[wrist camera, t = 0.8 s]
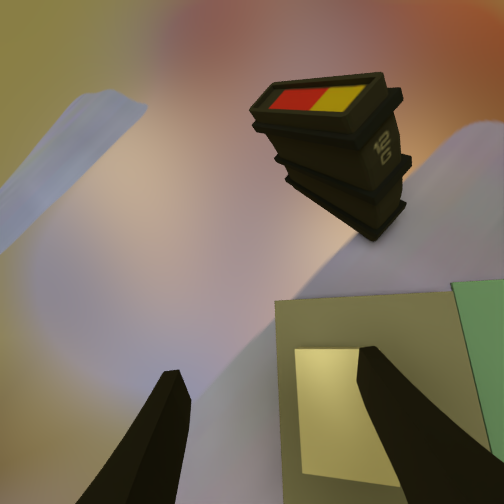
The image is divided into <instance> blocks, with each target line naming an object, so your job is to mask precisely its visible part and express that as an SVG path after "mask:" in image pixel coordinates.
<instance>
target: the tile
mask: <svg viewBox="0 0 504 504" xmlns="http://www.w3.org/2000/svg"><path fill="white" fill-rule="evenodd" d="M359 348H360V347H298V348H296V349H295V364H296V380H297V396H298V412H299V428H300V444H301V460H302V473H304V474H311V475H318V476H325V477H332V478H339V479H346V480H353V481H360V482H367V483H374V484H381V485H389V486H396V487H400V483H399V480H398V478H397V475H396V473H395V471H394V469H393V467H392V465H391V462H390V460H389V458H388V456H387V454H386V452H385V449H384V447H383V445H382V443H381V441H380V439H379V437H378V434H377V432H376V430H375V428H374V426H373V424H372V421H371V419H370V417H369V415H368V413H367V410H366V408H365V405H364V402H363V400H362V397H361V394H360V391H359V388H358V385H357V382H356V377H357V367H358V356H359ZM379 350H380V349H379Z"/></svg>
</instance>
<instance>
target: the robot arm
mask: <svg viewBox="0 0 504 504" xmlns="http://www.w3.org/2000/svg"><path fill="white" fill-rule="evenodd" d="M356 382H357V385H358V388H359V391H360V394H361V397H362V400H363V402H364V405H365V408H366V410H367V413H368V415H369V417H370V419H371V421H372V424H373V426H374V428H375V430H376V432H377V434H378V437H379V439H380V441H381V443H382V445H383V447H384V449H385V452H386V454H387V456H388V458H389V460H390V462H391V465H392V467H393V469H394V471H395V473H396V475H397V478H398V480H399V482H400V485H401V487H402V489H403V492H404V494H405V497H406V500H407V502H408V504H504V462H502V461H501V460H500V459H498V458H497V457H496V456H495V455H493V454H492V453H491V452H490V451H488V450H487V449H486V448H485V447H483V446H482V445H481V444H480V443H478V442H477V441H476V440H475V439H474V438H472V437H471V436H470V435H469V434H468V433H466V432H465V431H464V430H463V429H462V428H460V427H459V426H458V425H457V424H456V423H455V422H454V421H452V420H451V419H450V418H449V417H448V416H447V415H446V414H444V413H443V412H442V411H441V410H440V409H439V408H438V407H437V406H436V405H435V404H433V403H432V402H431V401H430V400H429V399H428V398H427V397H426V396H425V395H424V394H423V393H422V392H421V391H420V390H419V389H418V388H417V387H415V386H414V385H413V384H412V383H411V382H410V381H409V380H408V379H407V378H406V377H405V376H404V375H403V374H402V373H401V372H400V371H399V370H398V369H397V368H396V367H395V366H394V364H393V363H392V362H391V361H390V360H389V359H388V358H387V357H386V356H385V355H384V354H383V353H382V352H381V351H380V350H379V349H378V348H377V347H376V346H368V347H360V348H359V356H358V367H357V377H356ZM190 412H191V398H190V396H189V393H188V391H187V388H186V385H185V383H184V380H183V378H182V376H181V373H180V370H171V371H164V372H163V374H162V375H161V377H160V379H159V380H158V382H157V384H156V385H155V387H154V389H153V391H152V393H151V394H150V396H149V397H148V399H147V401H146V403H145V404H144V406H143V407H142V409H141V411H140V412H139V414H138V416H137V417H136V419H135V420H134V422H133V423H132V425H131V427H130V428H129V430H128V431H127V433H126V434H125V436H124V437H123V439H122V441H121V442H120V443H119V445H118V446H117V448H116V449H115V450H114V452H113V453H112V455H111V456H110V458H109V459H108V461H107V462H106V464H105V465H104V466H103V468H102V469H101V471H100V472H99V473H98V475H97V476H96V477H95V479H94V480H93V481H92V483H91V484H90V485H89V487H88V488H87V489H86V491H85V492H84V493H83V494H82V496H81V497H80V499H79V500H78V501H77V502H76V503H75V504H175V500H176V494H177V489H178V484H179V479H180V474H181V469H182V463H183V458H184V453H185V448H186V442H187V437H188V431H189V423H190Z"/></svg>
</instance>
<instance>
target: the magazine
mask: <svg viewBox="0 0 504 504" xmlns="http://www.w3.org/2000/svg"><path fill="white" fill-rule="evenodd" d="M402 101H403V95H402V91H401V88H399V87H397V88H387V86H386V82H385V78H384V74H383V73H382V72H374V73H364V74H354V75H344V76H333V77H322V78H312V79H303V80H292V81H282V82H274V83H272V84H271V85H270V86H269V87H268V88H267V89H266V90H265V91H264V93H263V94H262V95H261V96H260V97H259V98H258V99H257V101H256V102H255V103H254V104H253V105H252V106H251V108H250V109H249V111H250V113H251V114H252V115H253V117H254V118H255V122H254V123H253V124H252V126H253V128H254V129H255V131H256V132H259V133H264V134H266V136H267V137H268V139H269V140H270V142H271V143H272V144H273V146H274V148H275V149H276V151H277V153H278V154H277V155H276V156H275V158H274V159H275V161H276V162H277V163H279V164H282V165H284V166H285V168H286V170H287V172H288V176H287V177H286V178H285V181H286V182H287V183H289V184H290V185H292V186H293V187H294V188H295V189H296V190H298V191H299V192H301V193H302V194H304V195H305V196H306V197H308V198H309V199H311V200H312V201H314V202H315V203H317V204H318V205H320V206H321V207H323V208H324V209H325V210H327V211H328V212H330V213H331V214H333V215H334V216H336V217H337V218H338V219H340V220H342V221H343V222H344V223H346V224H347V225H349V226H350V227H352V228H353V229H354V230H356V231H357V232H359V233H360V234H362V235H363V236H365V237H366V238H368V239H369V240H370V241H373V242H374V241H376V240H377V239H378V238H379V237H380V236H381V235H382V233H383V232H384V231H385V230H386V229H387V228H388V227H389V226H390V224H391V223H392V222H393V221H394V220H395V219H396V218H397V216H398V215H399V214H400V213H401V212H402V211H403V210H404V209H405V206H406V204H407V203H406V202H404V201H402V200H400V198H401V193H402V177H403V175H404V174H405V173H406V172H407V171H408V170H409V169H410V167H411V166H412V157H411V156H409V155H405V154H401V148H400V147H401V146H400V134H399V131H398V127H397V123H396V119H395V116H394V112H393V111H394V110H395V109H396V108H397V107H398V106H399V105H400V103H401V102H402Z"/></svg>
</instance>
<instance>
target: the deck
mask: <svg viewBox="0 0 504 504" xmlns="http://www.w3.org/2000/svg"><path fill="white" fill-rule="evenodd" d="M275 322H276V344H277V367H278V389H279V412H280V434H281V457H282V479H283V502H284V504H408V502H407V500H406V497H405V494H404V492H403V489H402V487H401V485H400V487H396V486H389V485H381V484H374V483H367V482H360V481H353V480H346V479H339V478H332V477H325V476H318V475H311V474H304V473H302V460H301V444H300V428H299V412H298V396H297V380H296V364H295V349H296V348H298V347H368V346H376V347H377V348H378V349H380V351H381V352H382V353H383V354H384V355H385V356H386V357H387V358H388V359H389V360H390V361H391V362H392V363H393V364H394V366H395V367H396V368H397V369H398V370H399V371H400V372H401V373H402V374H403V375H404V376H405V377H406V378H407V379H408V380H409V381H410V382H411V383H412V384H413V385H414V386H415V387H417V388H418V389H419V390H420V391H421V392H422V393H423V394H424V395H425V396H426V397H427V398H428V399H429V400H430V401H431V402H432V403H433V404H435V405H436V406H437V407H438V408H439V409H440V410H441V411H442V412H443V413H444V414H446V415H447V416H448V417H449V418H450V419H451V420H452V421H454V422H455V423H456V424H457V425H458V426H459V427H460V428H462V429H463V430H464V431H465V432H466V433H468V434H469V435H470V436H471V437H472V438H474V439H475V440H476V441H477V442H478V443H480V444H481V445H482V446H483V447H485V448H486V449H487V450H488V451H490V447H489V443H488V438H487V434H486V430H485V425H484V421H483V417H482V413H481V408H480V404H479V400H478V396H477V391H476V387H475V383H474V379H473V374H472V370H471V366H470V362H469V357H468V353H467V349H466V345H465V340H464V336H463V332H462V328H461V323H460V319H459V315H458V311H457V306H456V302H455V298H454V294H453V291H449V292H430V293H412V294H393V295H374V296H355V297H337V298H318V299H299V300H282V301H275ZM490 452H491V451H490ZM399 483H400V482H399Z"/></svg>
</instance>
